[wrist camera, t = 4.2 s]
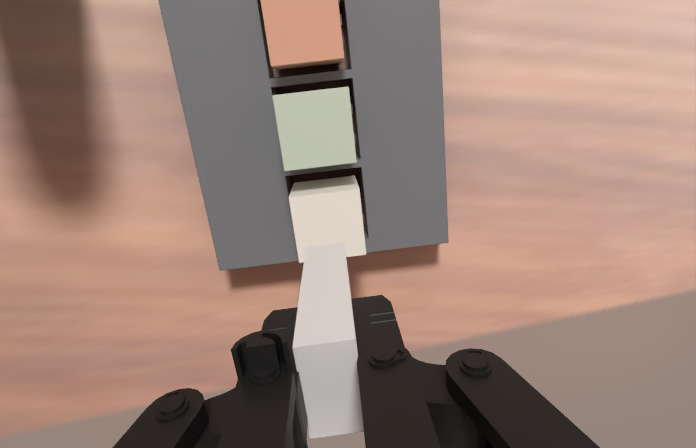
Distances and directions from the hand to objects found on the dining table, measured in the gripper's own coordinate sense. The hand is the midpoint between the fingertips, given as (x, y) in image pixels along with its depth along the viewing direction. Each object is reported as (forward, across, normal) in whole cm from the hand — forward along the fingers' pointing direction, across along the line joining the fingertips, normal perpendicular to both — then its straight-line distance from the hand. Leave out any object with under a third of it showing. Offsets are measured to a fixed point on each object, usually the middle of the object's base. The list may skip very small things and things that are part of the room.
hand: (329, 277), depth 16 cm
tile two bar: (+12, 0, +5) cm, 13 cm away
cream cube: (+12, 0, -1) cm, 12 cm away
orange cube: (+13, 0, +10) cm, 17 cm away
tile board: (+14, 0, +5) cm, 15 cm away
